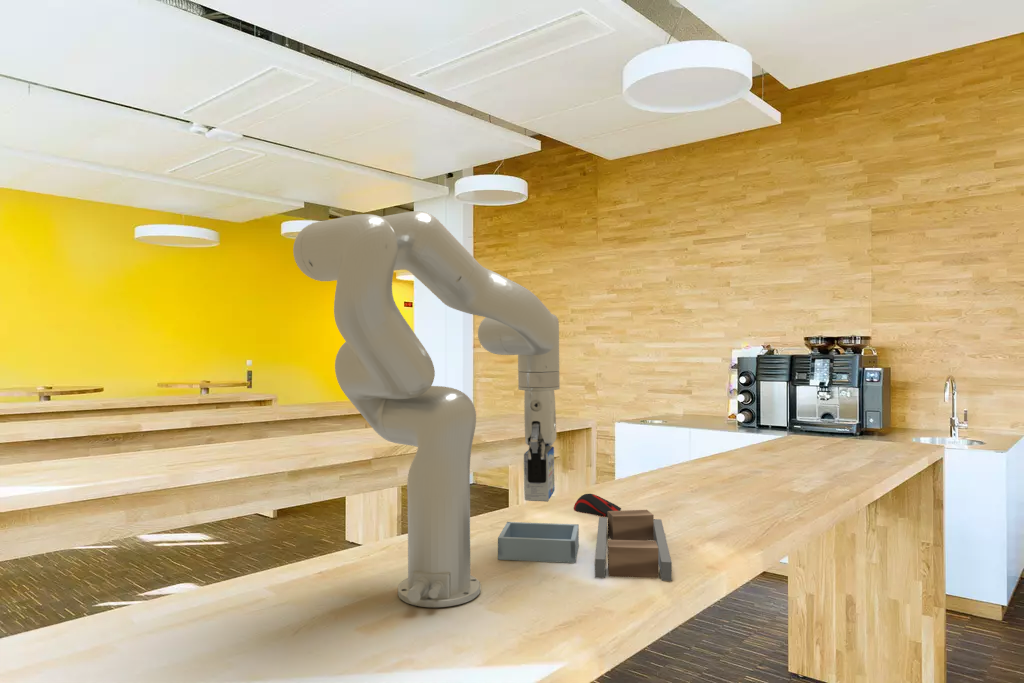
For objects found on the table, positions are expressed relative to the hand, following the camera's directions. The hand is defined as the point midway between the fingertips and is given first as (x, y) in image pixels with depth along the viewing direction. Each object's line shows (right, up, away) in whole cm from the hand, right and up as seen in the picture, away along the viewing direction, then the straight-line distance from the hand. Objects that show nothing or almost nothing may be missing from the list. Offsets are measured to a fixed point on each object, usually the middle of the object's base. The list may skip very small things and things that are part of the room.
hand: (539, 476), depth 125 cm
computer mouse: (+14, -14, +29) cm, 35 cm away
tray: (0, -14, 0) cm, 14 cm away
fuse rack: (+16, -14, -2) cm, 21 cm away
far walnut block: (+18, -14, +8) cm, 24 cm away
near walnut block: (+15, -14, -11) cm, 23 cm away
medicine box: (0, -4, 0) cm, 4 cm away
